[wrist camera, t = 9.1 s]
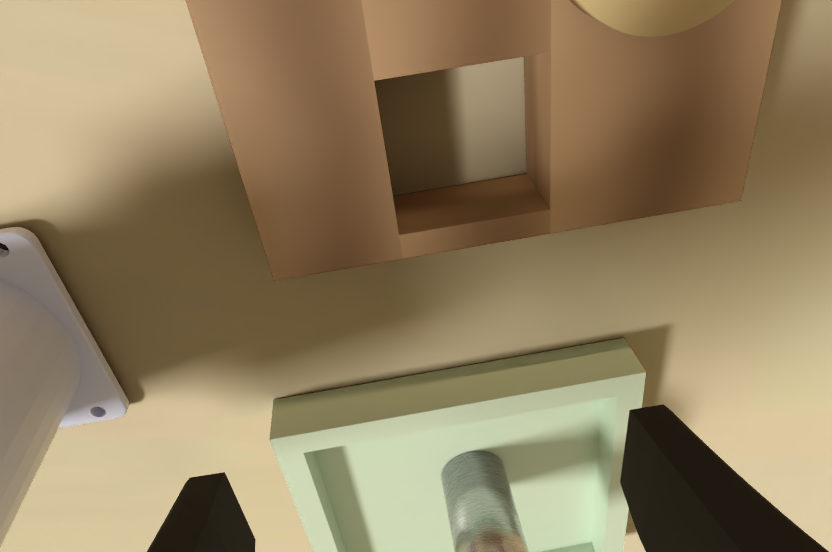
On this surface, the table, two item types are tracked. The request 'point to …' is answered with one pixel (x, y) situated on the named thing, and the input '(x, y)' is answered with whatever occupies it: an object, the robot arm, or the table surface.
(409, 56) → the tensioner block
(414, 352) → the table surface
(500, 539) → the pin
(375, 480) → the tray
